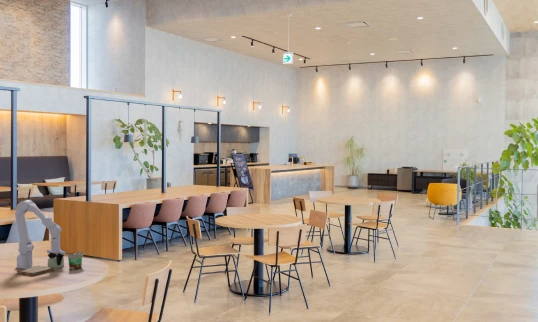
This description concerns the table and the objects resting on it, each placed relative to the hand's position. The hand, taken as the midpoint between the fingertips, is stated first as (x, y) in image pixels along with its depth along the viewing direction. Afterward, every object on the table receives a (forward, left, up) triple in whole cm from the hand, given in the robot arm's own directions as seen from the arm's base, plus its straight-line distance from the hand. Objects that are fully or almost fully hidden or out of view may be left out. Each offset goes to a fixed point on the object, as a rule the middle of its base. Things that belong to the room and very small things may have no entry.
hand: (56, 264), depth 347 cm
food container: (+16, +3, -2) cm, 16 cm away
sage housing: (0, 0, -2) cm, 2 cm away
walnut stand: (0, -16, -2) cm, 16 cm away
